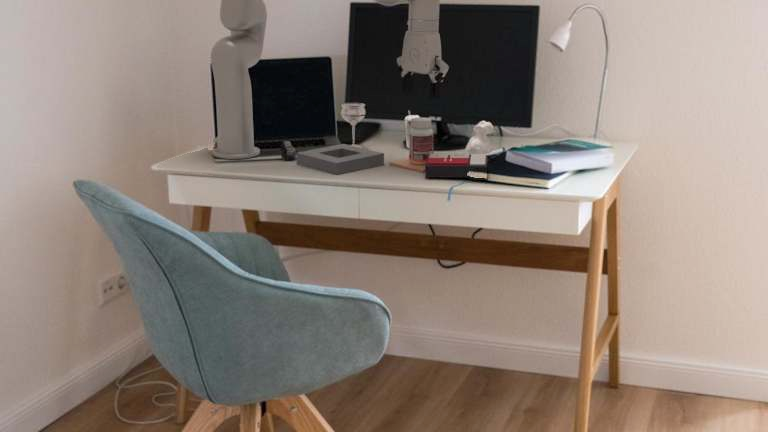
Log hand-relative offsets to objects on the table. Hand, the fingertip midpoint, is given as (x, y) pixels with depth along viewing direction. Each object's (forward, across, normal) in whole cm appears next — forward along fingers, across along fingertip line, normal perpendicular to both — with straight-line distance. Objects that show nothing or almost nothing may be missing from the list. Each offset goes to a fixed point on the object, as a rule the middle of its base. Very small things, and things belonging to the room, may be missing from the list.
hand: (421, 95), depth 244 cm
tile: (+18, +1, +1) cm, 18 cm away
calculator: (+18, +14, 0) cm, 22 cm away
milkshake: (+18, -16, +14) cm, 28 cm away
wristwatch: (+19, -28, -20) cm, 40 cm away
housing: (+19, -14, -14) cm, 27 cm away
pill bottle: (+18, 0, 0) cm, 18 cm away
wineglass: (+19, -27, +2) cm, 33 cm away
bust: (+18, +6, +17) cm, 25 cm away
